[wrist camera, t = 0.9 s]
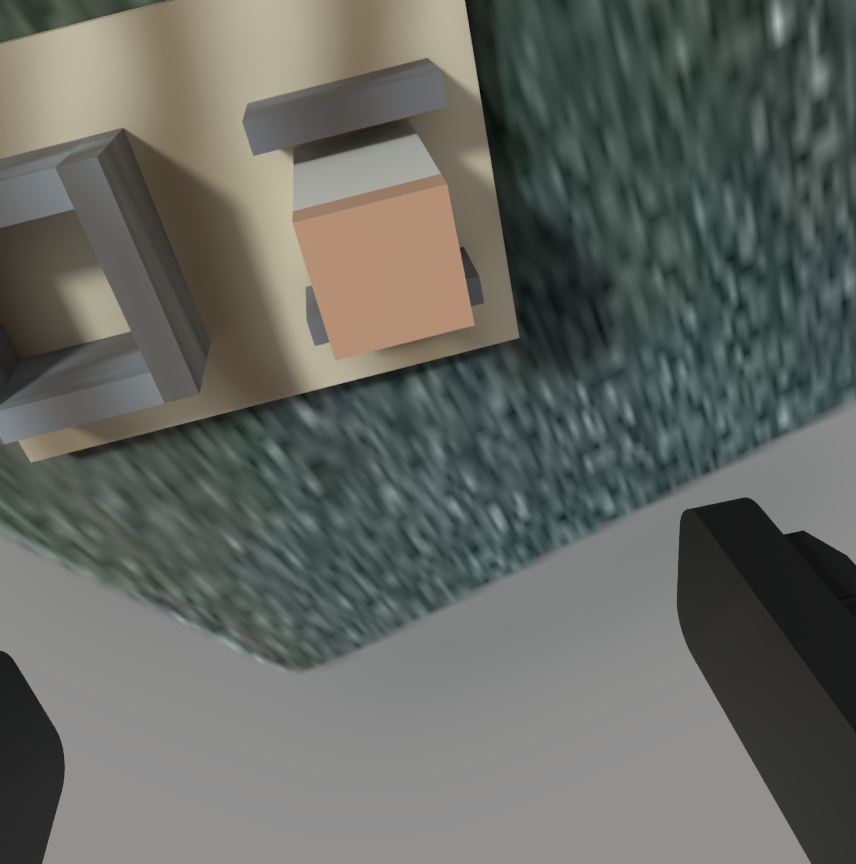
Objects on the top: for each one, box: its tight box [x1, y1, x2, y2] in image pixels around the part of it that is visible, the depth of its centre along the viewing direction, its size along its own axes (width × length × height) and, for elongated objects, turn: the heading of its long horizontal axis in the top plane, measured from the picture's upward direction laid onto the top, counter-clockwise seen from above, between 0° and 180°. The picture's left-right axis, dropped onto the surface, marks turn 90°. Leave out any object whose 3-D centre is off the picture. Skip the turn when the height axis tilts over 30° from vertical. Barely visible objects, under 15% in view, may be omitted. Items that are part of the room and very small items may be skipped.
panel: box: [0, 0, 519, 462], centre depth 27 cm, size 20×14×6 cm
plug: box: [292, 121, 474, 361], centre depth 24 cm, size 4×4×8 cm
